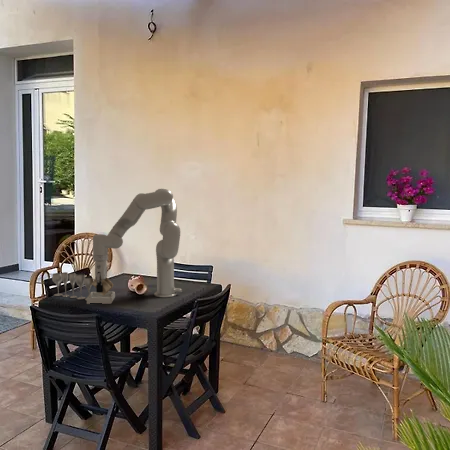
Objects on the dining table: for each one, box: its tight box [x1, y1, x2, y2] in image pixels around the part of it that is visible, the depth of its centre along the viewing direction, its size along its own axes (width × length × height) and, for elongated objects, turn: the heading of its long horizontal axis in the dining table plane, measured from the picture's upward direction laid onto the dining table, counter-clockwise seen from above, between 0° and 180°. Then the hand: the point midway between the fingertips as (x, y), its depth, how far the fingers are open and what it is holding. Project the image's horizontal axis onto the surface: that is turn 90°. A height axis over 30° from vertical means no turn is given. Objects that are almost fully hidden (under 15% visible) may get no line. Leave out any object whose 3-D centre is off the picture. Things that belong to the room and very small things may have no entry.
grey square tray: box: [86, 291, 116, 305], centre depth 245 cm, size 13×13×3 cm
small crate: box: [92, 276, 114, 296], centre depth 245 cm, size 9×7×6 cm
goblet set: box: [51, 271, 94, 301], centre depth 250 cm, size 28×6×13 cm, turn 63°
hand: (100, 290), depth 245 cm, fingers closed on small crate, 6 cm apart
